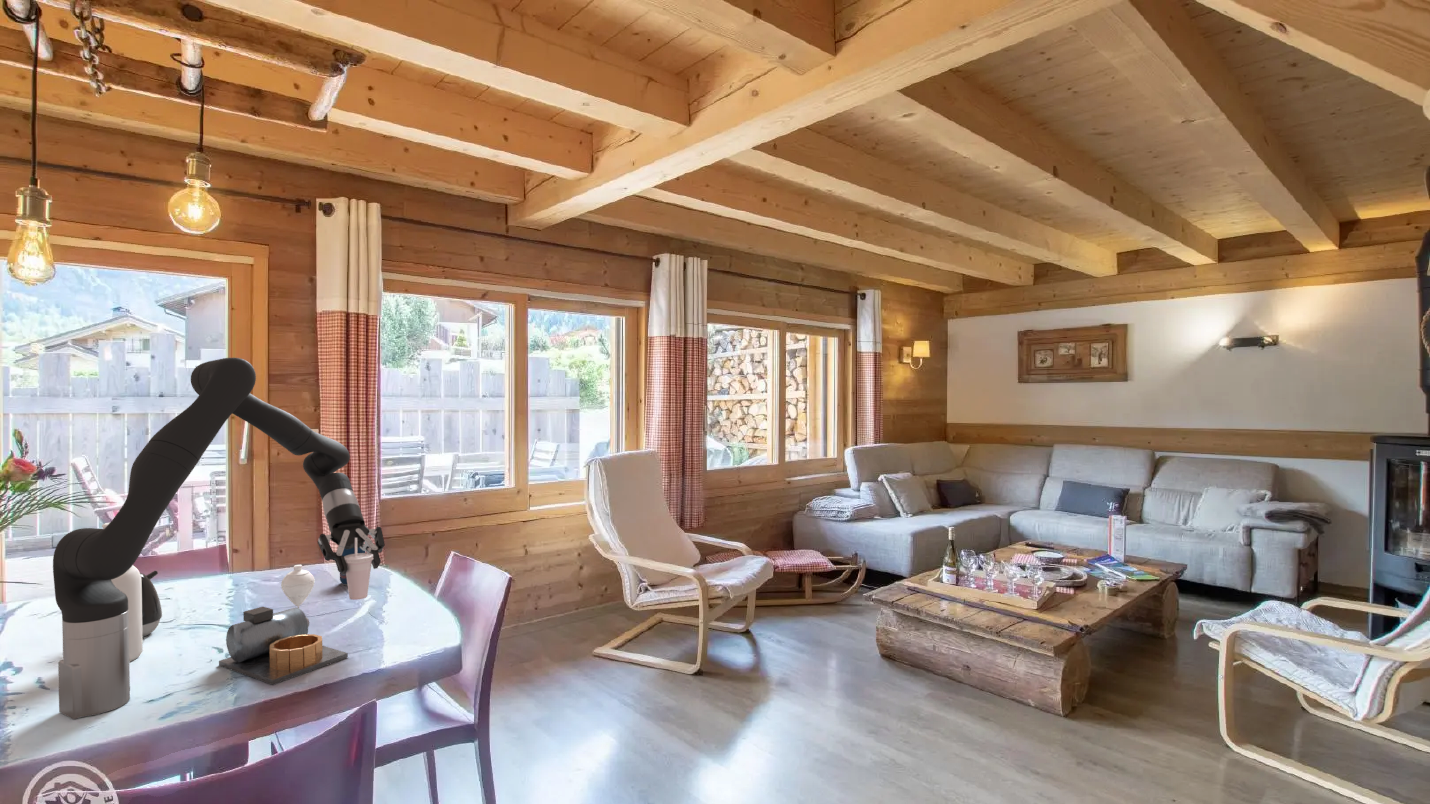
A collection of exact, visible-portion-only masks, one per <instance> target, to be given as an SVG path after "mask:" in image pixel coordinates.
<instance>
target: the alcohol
mask: <svg viewBox="0 0 1430 804" xmlns="http://www.w3.org/2000/svg"><path fill="white" fill-rule="evenodd" d="M110 522H111V521H109V522H105V523H103V524H102V525H101V527H102V529H105V528H106V527H107V526H108V524H109V523H110ZM140 573H141V572H140V570H139V569H138V568H137V567H136V566H134V564H133V565H132V567H131V568H130V569H129V570H128V571H127V572H125V573H124V574H123V575H121V576H119V577H117V578H115V579H111V581H112V582H113V584H114V585H115V587H116V588H117V589H119V590H120V591H121V592H123V593H124V594H125V595H126V596H127V597H128V617H129V663H130V662H133V661H134V660H136V659H138V658H140V656H141V655H142V653H143V651H144V650H143V648H144V647H143V645H144V644H143V643H144V642H143V641H144V640H143V638H144V637H142V582H141V575H140Z"/></svg>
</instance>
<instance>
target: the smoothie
mask: <svg viewBox="0 0 1430 804" xmlns="http://www.w3.org/2000/svg"><path fill="white" fill-rule="evenodd" d="M344 558H345V561H346V565H347V572H346V577H347V584H348V585H347V590H348V598H349V600H353V601H354V600H356V601H357V600H358V601H359V600H363V599H366V598H367V597H368V593H369V585H370V578H371V570H372V560H373V559H374V558H373V554H371V553H367V552H365V553H357V538H355V554H350V555H347V556H344Z"/></svg>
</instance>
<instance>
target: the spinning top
mask: <svg viewBox="0 0 1430 804" xmlns="http://www.w3.org/2000/svg"><path fill="white" fill-rule="evenodd" d="M315 581H316V580H315V576H314V575H313V574H312V573H311V572H310V571H309V570H305V569H303V565H302V564H295V565H293V570H291V571H290V572H288V573H286V575H285V576H284V577H283V578H282V580H281V583H280V584H281V585H280V586H281V587H280V588H281V590H282V592H283V594H284V595H285V597H287V599H288V600H289V601H290V602H291V603H292V604H293V605H294V606H295V607H296V608H299V609H300V606H301V605H303V604H304V602H305V601H306V599H307V598H308V597H309V595H310V593H311V592H312V590H313V588H314V586H315Z"/></svg>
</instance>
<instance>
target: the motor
mask: <svg viewBox="0 0 1430 804" xmlns="http://www.w3.org/2000/svg"><path fill="white" fill-rule="evenodd" d="M242 615H243V621H242V622H238V623H235V624H232V625H230V626H229V627H228V629H227V632H226V636H225V638H226V640H225V641H226V649H227V652H228V654H229V657H226V658H224V659H223V658H222V659H221V660H219V661H218V667H221V668H225V669H228V670H230V671H233V672H236V673H238V674H241V675H244V676H247V677H251V678H253V679H255V680H259V681H261V682H264V683H267V684H270V685H272V686H273V685H276V684H279V683H283V682H284V681H288V680H290V679H293V678H295V677H298V676H301V675H304V674H306V672H307V673H309V671H310V672H311V670H312V671H314V670H317V669H320V668H323V667H326V666H328V665H327V664H329V665H331V664H335V663H337V662H339V661H341V660H344V659H347V657H348V658H349V655H348V654H349V653H348V652H346V651H341V650H339V649H335V648H332V647H329V646H325V645H323V636H322V635H319V634H315V633H313V634H312V633H311V634H310V633H309V627H310V620H309V618H308V617H307V616H306V615H305V612H304V611H303V610H302V609H301V608H300V607H299V608H298V607H292V608H289V609H284V610H281V611H277V612H275V613H274V609H273V608H271V607H270V608H269V607H266V606H260V607H257V608H252V609H248V610H245V611H243V613H242ZM308 633H309V634H308ZM330 663H331V664H330ZM325 665H326V666H325Z"/></svg>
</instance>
